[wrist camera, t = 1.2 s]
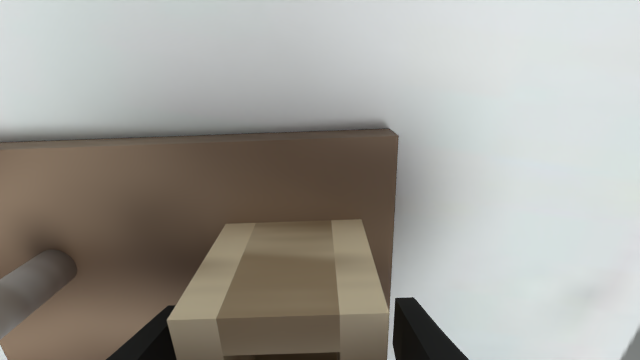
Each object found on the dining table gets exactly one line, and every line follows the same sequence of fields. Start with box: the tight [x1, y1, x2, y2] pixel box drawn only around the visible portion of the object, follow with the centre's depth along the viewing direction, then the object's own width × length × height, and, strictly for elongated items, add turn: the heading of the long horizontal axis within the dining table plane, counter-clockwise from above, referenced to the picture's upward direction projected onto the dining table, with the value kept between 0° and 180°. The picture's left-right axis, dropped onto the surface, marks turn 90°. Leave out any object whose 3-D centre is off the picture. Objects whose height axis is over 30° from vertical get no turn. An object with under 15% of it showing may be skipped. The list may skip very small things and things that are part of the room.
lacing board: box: [0, 129, 398, 360], centre depth 12 cm, size 12×18×6 cm, turn 92°
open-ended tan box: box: [167, 219, 389, 360], centre depth 11 cm, size 5×5×5 cm
